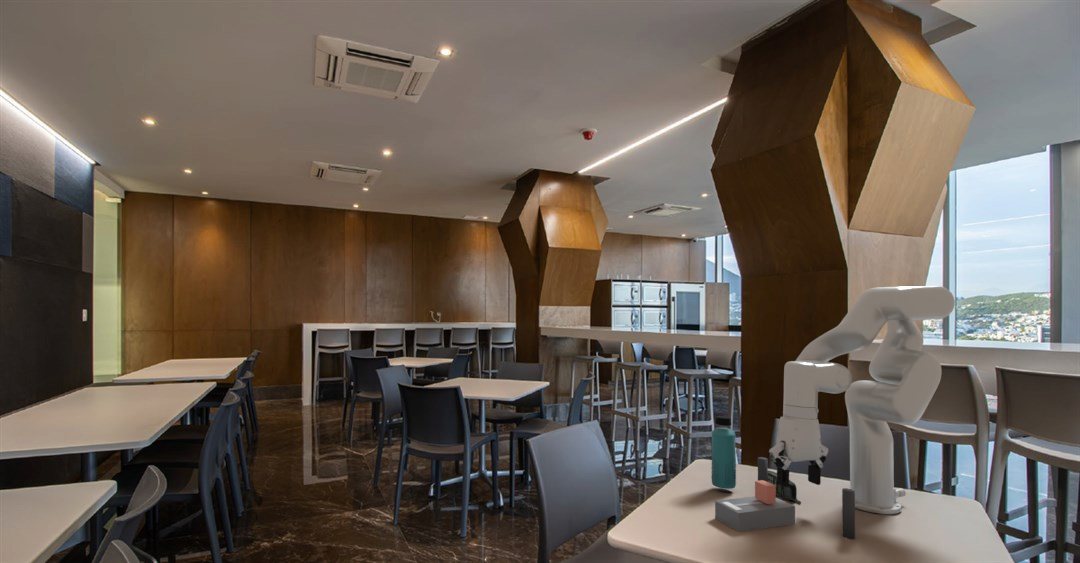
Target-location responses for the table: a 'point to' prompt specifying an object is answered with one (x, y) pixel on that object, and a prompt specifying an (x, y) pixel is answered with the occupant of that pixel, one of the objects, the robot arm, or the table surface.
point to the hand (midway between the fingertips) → (798, 484)
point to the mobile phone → (783, 488)
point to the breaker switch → (765, 492)
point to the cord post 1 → (762, 469)
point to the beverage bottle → (723, 455)
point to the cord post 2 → (848, 513)
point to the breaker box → (754, 513)
